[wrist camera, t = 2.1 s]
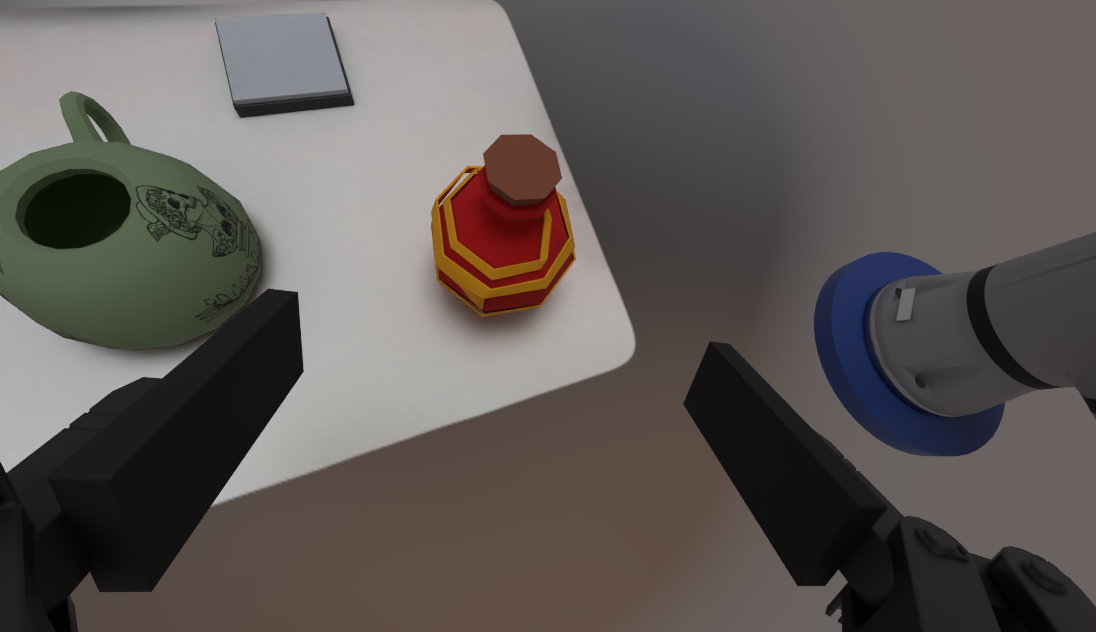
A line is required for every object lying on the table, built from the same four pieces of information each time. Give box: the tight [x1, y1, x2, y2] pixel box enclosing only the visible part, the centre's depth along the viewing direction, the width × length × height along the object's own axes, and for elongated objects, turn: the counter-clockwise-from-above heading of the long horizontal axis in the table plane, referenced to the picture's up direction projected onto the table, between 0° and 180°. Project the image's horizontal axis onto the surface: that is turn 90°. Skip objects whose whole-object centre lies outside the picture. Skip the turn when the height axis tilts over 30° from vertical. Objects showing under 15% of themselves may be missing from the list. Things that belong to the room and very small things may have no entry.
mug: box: [0, 91, 261, 350], centre depth 26 cm, size 16×13×9 cm
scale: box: [215, 13, 354, 117], centre depth 36 cm, size 9×9×2 cm
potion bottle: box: [431, 135, 576, 317], centre depth 28 cm, size 10×10×15 cm
